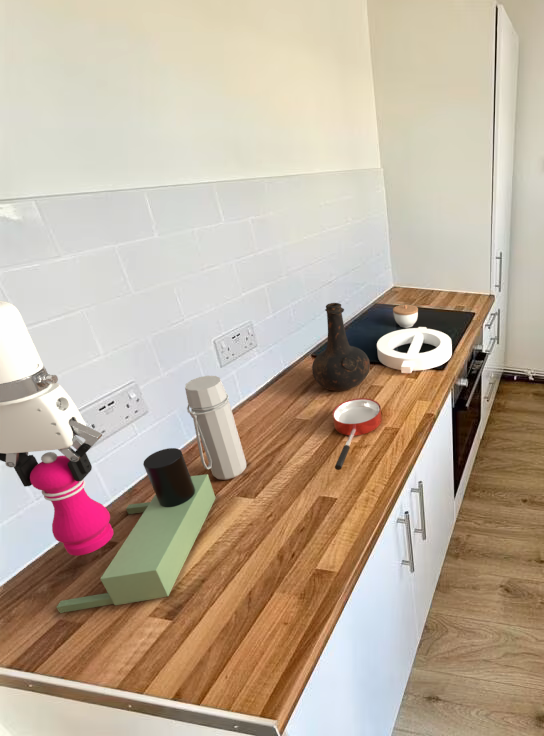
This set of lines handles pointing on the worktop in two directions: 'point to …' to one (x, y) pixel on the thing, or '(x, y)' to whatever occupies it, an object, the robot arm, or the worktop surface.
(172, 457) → the spice tin
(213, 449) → the water bottle
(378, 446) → the worktop surface
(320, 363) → the glass bottle
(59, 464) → the pepper mill
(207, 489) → the riser
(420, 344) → the white circle with bar
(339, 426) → the frying pan
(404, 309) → the trinket box
